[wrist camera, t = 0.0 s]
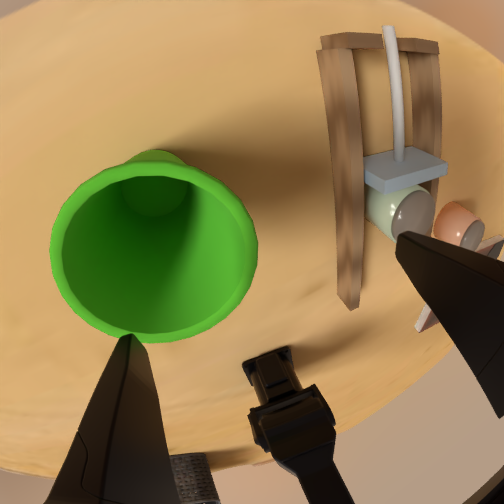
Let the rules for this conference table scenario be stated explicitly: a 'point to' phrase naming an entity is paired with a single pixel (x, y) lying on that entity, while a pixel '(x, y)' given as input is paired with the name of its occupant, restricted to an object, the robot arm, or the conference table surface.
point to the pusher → (399, 141)
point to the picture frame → (485, 247)
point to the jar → (459, 227)
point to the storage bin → (194, 479)
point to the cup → (153, 249)
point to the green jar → (399, 210)
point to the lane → (350, 137)
